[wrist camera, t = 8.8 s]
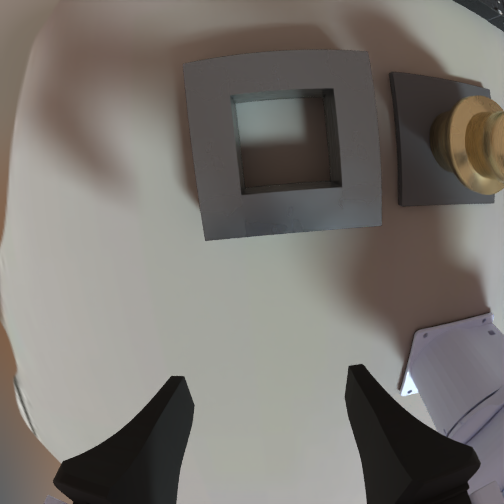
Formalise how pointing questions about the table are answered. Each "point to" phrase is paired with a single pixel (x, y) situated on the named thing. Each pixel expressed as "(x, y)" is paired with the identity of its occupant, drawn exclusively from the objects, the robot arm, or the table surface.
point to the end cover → (471, 143)
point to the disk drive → (487, 10)
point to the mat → (427, 140)
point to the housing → (296, 194)
